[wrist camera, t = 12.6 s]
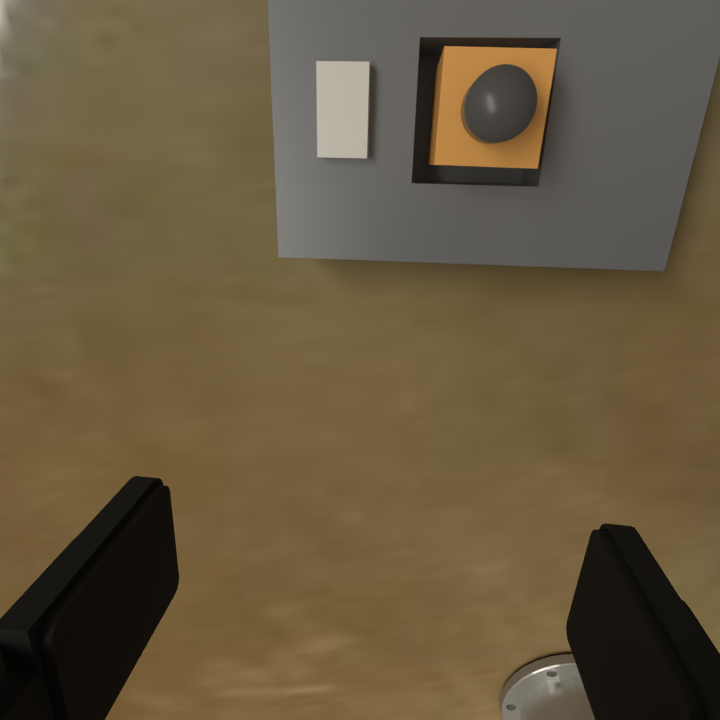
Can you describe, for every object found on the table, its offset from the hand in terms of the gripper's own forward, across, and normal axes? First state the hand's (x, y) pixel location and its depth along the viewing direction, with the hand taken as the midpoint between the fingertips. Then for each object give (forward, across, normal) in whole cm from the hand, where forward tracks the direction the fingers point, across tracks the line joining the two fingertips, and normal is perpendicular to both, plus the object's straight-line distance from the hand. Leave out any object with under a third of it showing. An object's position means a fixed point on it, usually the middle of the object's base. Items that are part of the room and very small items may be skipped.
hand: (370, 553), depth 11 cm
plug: (+21, -3, -11) cm, 24 cm away
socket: (+22, -3, -11) cm, 25 cm away
